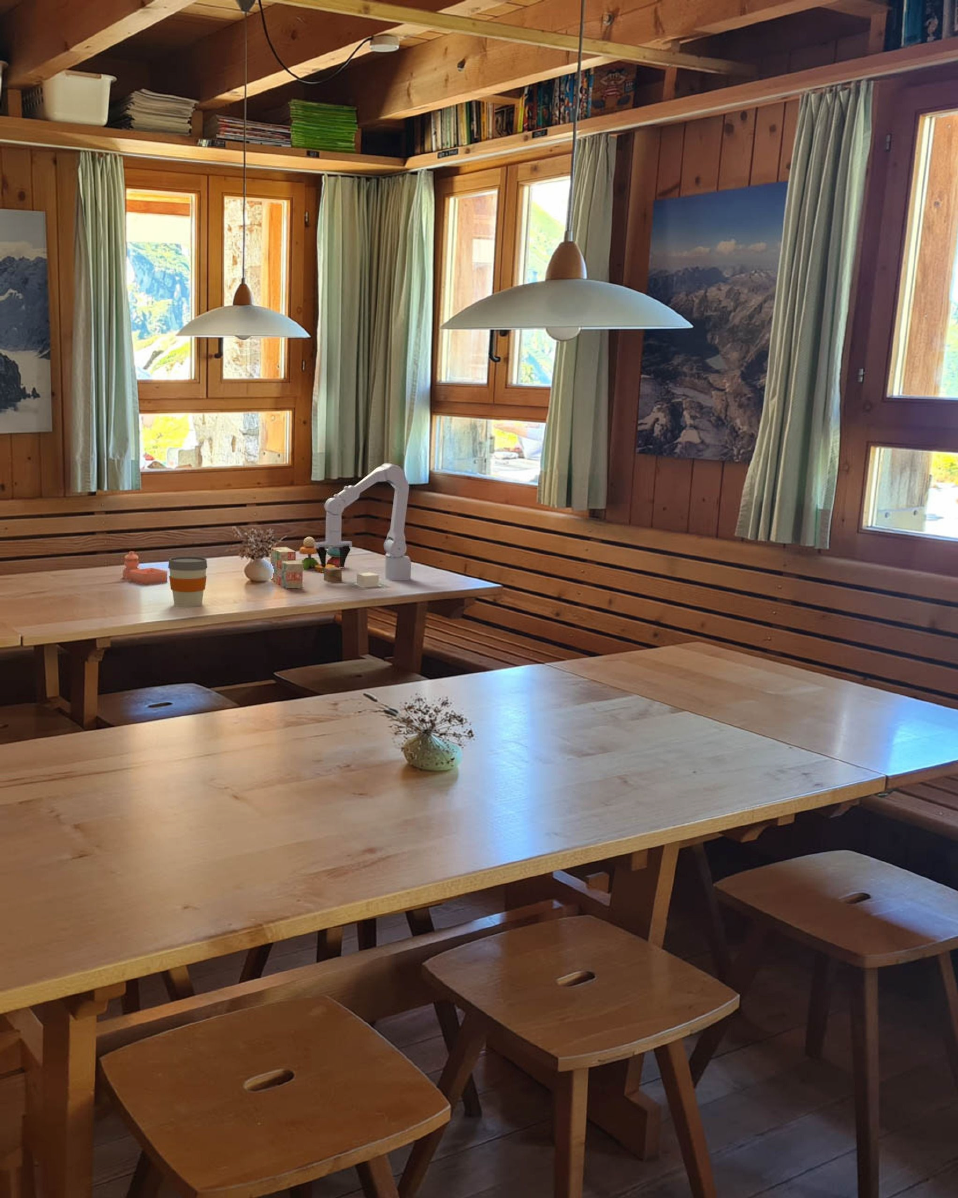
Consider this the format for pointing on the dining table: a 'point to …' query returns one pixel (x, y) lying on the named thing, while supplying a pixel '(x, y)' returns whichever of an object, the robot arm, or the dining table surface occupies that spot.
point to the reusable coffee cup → (187, 580)
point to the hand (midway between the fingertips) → (332, 566)
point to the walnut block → (332, 574)
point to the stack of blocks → (286, 567)
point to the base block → (367, 579)
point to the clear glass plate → (367, 586)
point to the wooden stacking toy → (310, 549)
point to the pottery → (142, 572)
